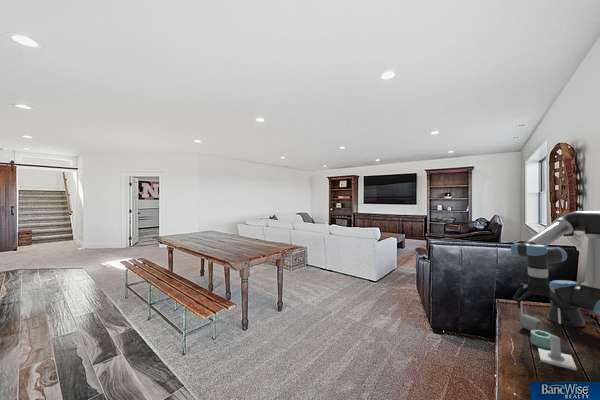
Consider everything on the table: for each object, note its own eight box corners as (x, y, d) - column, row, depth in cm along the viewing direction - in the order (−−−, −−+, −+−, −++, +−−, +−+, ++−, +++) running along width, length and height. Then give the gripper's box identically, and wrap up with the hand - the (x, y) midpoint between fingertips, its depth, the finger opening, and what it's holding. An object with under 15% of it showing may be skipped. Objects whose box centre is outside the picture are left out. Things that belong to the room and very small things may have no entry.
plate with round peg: (538, 349, 122) (536, 328, 122) (571, 357, 115) (569, 335, 115) (540, 361, 113) (539, 338, 113) (576, 370, 106) (575, 346, 106)
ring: (542, 339, 130) (541, 329, 130) (558, 347, 122) (557, 337, 122) (527, 340, 130) (526, 330, 130) (542, 349, 122) (541, 338, 122)
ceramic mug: (537, 335, 134) (536, 321, 134) (519, 328, 141) (518, 315, 141) (549, 331, 137) (548, 317, 138) (530, 325, 145) (530, 311, 145)
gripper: (505, 273, 132) (507, 314, 132) (575, 282, 115) (578, 329, 115) (506, 270, 138) (508, 310, 137) (573, 278, 121) (576, 323, 121)
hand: (540, 318), depth 126 cm, fingers open, 13 cm apart
